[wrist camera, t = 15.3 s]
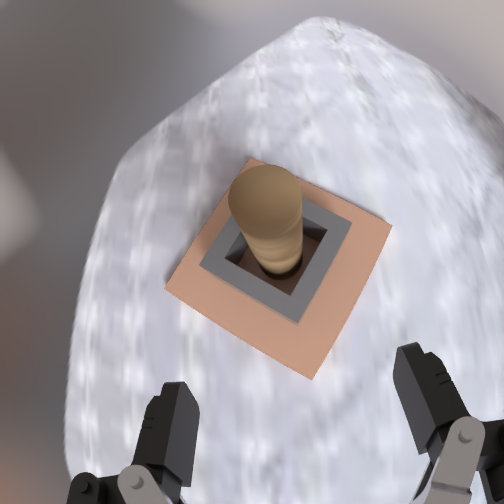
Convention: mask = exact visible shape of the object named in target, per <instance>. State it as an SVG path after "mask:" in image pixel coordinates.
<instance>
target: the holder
mask: <svg viewBox="0 0 504 504" xmlns="http://www.w3.org/2000/svg"><path fill="white" fill-rule="evenodd" d="M259 165H267V164H265V163H262V162H260V161H258V160H255V159H253V158H250V159H249V160H248V162H247V163H246V165H245V166H244V167H243V169H242V170H241V172H240V173H239V175H240V174H241V173H243V172H244V171H246V170H247V169H250V168H252V167H255V166H259ZM239 175H238V176H239ZM238 176H237V177H238ZM295 178H296V177H295ZM296 179H297V180H298V182H299V184H300V187H301V192H302V229H303V261H302V265H301V267H300V269H299V271H298V272H297V273H296V274H295V275H294V276H292V277H290V278H288V279H284V280H276V279H272V278H270V277H268V276H267V275H266V274H264V272H263V271H262V270H261V268H260V266H259V264H258V262H257V260H256V258H255V257H254V255H253V253H252V251H251V249H250V247H249V245H248V243H247V241H246V239H245V238H244V236H243V234H242V232H241V230H240V228H239V226H238V224H237V222H236V220H235V219H234V217H233V215H232V213H231V211H230V208H229V204H228V194H229V190H230V188H231V186H230V188H229V189H228V191H227V192H226V194H225V195H224V196H223V198H222V199H221V201H220V202H219V204H218V205H217V207H216V208H215V210H214V211H213V213H212V214H211V216H210V217H209V219H208V220H207V222H206V223H205V225H204V226H203V228H202V229H201V231H200V233H199V234H198V236H197V237H196V239H195V240H194V242H193V243H192V245H191V246H190V248H189V250H188V251H187V253H186V254H185V256H184V257H183V259H182V261H181V262H180V264H179V265H178V267H177V269H176V270H175V272H174V273H173V275H172V277H171V278H170V280H169V281H168V283H167V285H166V286H165V288H164V289H166V290H167V291H168V292H170V293H171V294H173V295H174V296H176V297H177V298H179V299H180V300H181V301H183V302H184V303H186V304H187V305H189V306H190V307H192V308H193V309H195V310H196V311H198V312H199V313H201V314H202V315H204V316H205V317H207V318H208V319H210V320H212V321H213V322H215V323H216V324H218V325H219V326H221V327H222V328H224V329H226V330H227V331H229V332H230V333H232V334H234V335H235V336H237V337H238V338H240V339H242V340H243V341H245V342H246V343H248V344H250V345H251V346H253V347H255V348H256V349H258V350H260V351H261V352H263V353H265V354H266V355H268V356H270V357H271V358H273V359H275V360H277V361H278V362H280V363H282V364H284V365H285V366H287V367H289V368H291V369H292V370H294V371H296V372H298V373H299V374H301V375H303V376H305V377H307V378H308V379H310V380H312V379H313V377H314V376H315V374H316V372H317V371H318V369H319V368H320V366H321V364H322V363H323V361H324V359H325V358H326V356H327V354H328V353H329V351H330V349H331V347H332V346H333V344H334V342H335V340H336V339H337V337H338V335H339V333H340V332H341V330H342V328H343V326H344V324H345V323H346V321H347V319H348V317H349V315H350V313H351V311H352V309H353V308H354V306H355V304H356V302H357V300H358V298H359V296H360V294H361V292H362V290H363V288H364V286H365V284H366V282H367V280H368V278H369V276H370V274H371V272H372V270H373V268H374V266H375V263H376V261H377V259H378V257H379V255H380V253H381V251H382V248H383V246H384V244H385V242H386V239H387V237H388V235H389V233H390V230H391V228H392V225H390V224H389V223H387V222H385V221H383V220H381V219H379V218H378V217H376V216H374V215H372V214H370V213H368V212H366V211H364V210H362V209H360V208H358V207H356V206H355V205H353V204H351V203H349V202H347V201H345V200H343V199H341V198H339V197H337V196H335V195H332V194H330V193H328V192H326V191H324V190H322V189H320V188H318V187H316V186H314V185H312V184H309V183H307V182H305V181H303V180H301V179H299V178H296ZM234 181H235V180H234ZM232 184H233V183H232Z"/></svg>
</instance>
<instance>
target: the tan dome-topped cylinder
mask: <svg viewBox="0 0 504 504" xmlns="http://www.w3.org/2000/svg"><path fill="white" fill-rule="evenodd" d="M228 204H229V208H230V211H231V213H232V215H233V217H234V219H235V220H236V222H237V224H238V226H239V228H240V230H241V232H242V234H243V236H244V238H245V239H246V241H247V243H248V245H249V247H250V249H251V251H252V253H253V255H254V257H255V258H256V260H257V262H258V264H259V266H260V268H261V270H262V271H263V272H264V274H266V275H267V276H268V277H270V278H272V279H276V280H284V279H288V278H290V277H292V276H294V275H295V274H296V273H297V272H298V271H299V269H300V267H301V265H302V261H303V229H302V192H301V187H300V184H299V182H298V180H297V179H296V178H295V176H294V175H293V174H292V173H290V172H289V171H288V170H286V169H284V168H282V167H279V166H275V165H259V166H255V167H252V168H250V169H247V170H246V171H244V172H243V173H241V174H240V175H239V176H238V177H237V178H236V179H235V181H234V182H233V184H232V185H231V188H230V190H229V194H228Z"/></svg>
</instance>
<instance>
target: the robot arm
mask: <svg viewBox="0 0 504 504" xmlns="http://www.w3.org/2000/svg"><path fill="white" fill-rule="evenodd" d="M393 380H394V385H395V388H396V390H397V393H398V396H399V398H400V401H401V404H402V406H403V409H404V412H405V415H406V418H407V420H408V423H409V426H410V429H411V432H412V435H413V438H414V441H415V444H416V447H417V450H418V453H419V455H420V454H423V453H426V452H428V454H429V457H430V459H429V461H428V464H427V466H426V469H425V471H424V473H423V476H422V478H421V480H420V482H419V485H418V487H417V489H416V491H415V493H414V495H413V497H412V499H411V501H410V503H409V504H469V503H470V500H471V496H472V492H471V491H470V486H471V483H472V480H473V477H474V474H475V471H479V473H480V477H481V481H482V484H483V488H484V492H485V496H486V500H487V504H504V419H502V420H496V421H489V422H482V421H480V420H478V419H477V418H474V417H472V416H471V415H470V414H469V413H468V411H467V409H466V407H465V405H464V403H463V401H462V399H461V397H460V395H459V393H458V391H457V389H456V387H455V385H454V383H453V381H451V377H450V375H449V373H447V370H446V368H445V366H444V364H443V362H442V360H441V359H440V358H438V357H437V356H436V355H435V354H433V353H432V352H429V353H426V354H424V352H423V350H422V349H421V347H420V345H419V344H418V343H417V342H414V343H411V344H407V345H404V346H400V347H398V348H397V352H396V358H395V364H394V370H393ZM199 417H200V411H199V406H198V403H197V401H196V400H195V398H194V396H193V395H192V393H191V391H190V390H189V388H188V386H187V385H186V383H185V382H166V383H164V385H163V387H162V391H161V395H160V396H154V397H153V399H152V400H151V401H150V403H149V404H148V405H147V408H146V411H145V415H144V420H143V423H142V426H141V427H142V429H141V430H140V434H139V438H138V442H137V446H136V450H135V454H134V458H133V461H132V464H131V465H130V466H128V467H126V468H125V469H123V470H122V471H121V473H120V474H119V475H114V476H108V477H101V478H97V477H96V476H94V475H93V474H91V473H88V472H83V473H80V474H78V475H76V476H75V477H74V479H73V480H72V482H71V486H70V491H69V495H68V499H67V504H187V503H186V502H185V500H184V499H183V497H182V496H181V495H180V492H181V486H183V487H191V480H192V472H193V464H194V456H195V448H196V440H197V432H198V425H199Z"/></svg>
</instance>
